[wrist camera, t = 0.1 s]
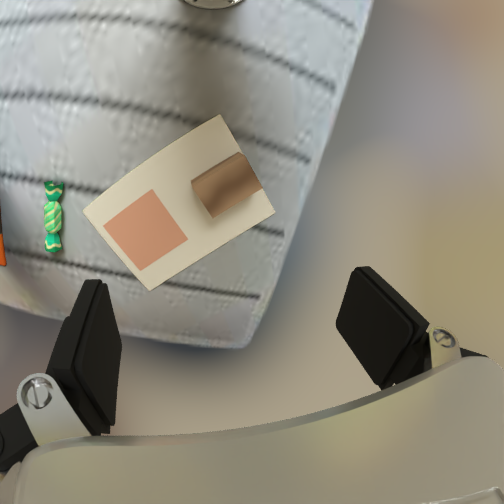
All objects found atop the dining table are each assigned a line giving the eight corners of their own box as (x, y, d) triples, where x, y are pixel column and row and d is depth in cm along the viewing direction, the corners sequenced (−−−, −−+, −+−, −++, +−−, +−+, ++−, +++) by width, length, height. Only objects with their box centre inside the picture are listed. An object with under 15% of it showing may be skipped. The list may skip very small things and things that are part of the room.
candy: (43, 180, 35) (45, 187, 33) (60, 179, 38) (64, 185, 36) (43, 244, 40) (47, 254, 38) (59, 241, 42) (63, 251, 40)
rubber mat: (82, 210, 40) (81, 211, 40) (219, 113, 39) (220, 113, 39) (149, 290, 51) (149, 291, 50) (275, 212, 50) (275, 212, 49)
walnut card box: (190, 180, 43) (191, 187, 39) (238, 151, 43) (244, 155, 39) (209, 209, 46) (212, 218, 42) (255, 181, 46) (262, 188, 42)
